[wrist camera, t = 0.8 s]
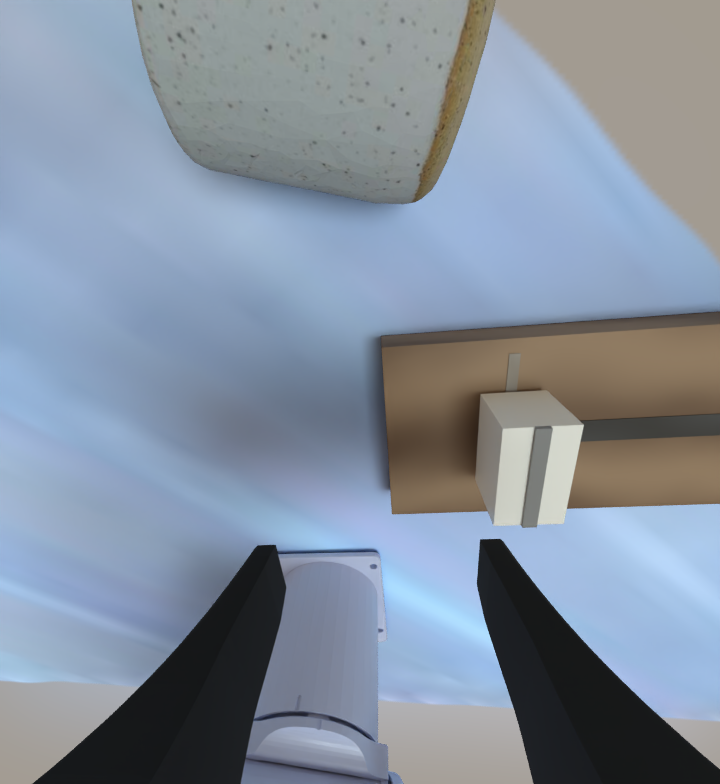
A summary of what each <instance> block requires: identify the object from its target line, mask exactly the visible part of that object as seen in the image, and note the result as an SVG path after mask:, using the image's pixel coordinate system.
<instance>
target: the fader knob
mask: <svg viewBox="0 0 720 784" xmlns="http://www.w3.org/2000/svg"><path fill="white" fill-rule="evenodd" d="M583 427H584V424H583V423H581V422H580V421H579V420H578V419H577V418H576V417H575V416H574V415H573V414H572V413H571V412H570V411H569V410H567V409H566V408H565V407H564V406H563V405H562V404H561V403H560V402H559V401H558V400H557V399H556V398H555V397H553V396H552V395H551V394H550V393H549V392H548V391H547V390H541V391H524V392H506V393H489V394H480V410H479V426H478V442H477V459H476V475H475V480H476V483H477V485H478V488H479V490H480V493H481V495H482V498H483V500H484V503H485V506H486V508H487V511H488V513H489V516H490V518H491V521H492V523H493V526H504V525H522V527H523V528H526V527H537V525H538V524H564V519H565V514H566V510H567V505H568V500H569V495H570V490H571V485H572V480H573V475H574V471H575V466H576V461H577V456H578V451H579V446H580V441H581V436H582V432H583Z"/></svg>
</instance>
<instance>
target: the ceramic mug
mask: <svg viewBox="0 0 720 784" xmlns="http://www.w3.org/2000/svg"><path fill="white" fill-rule="evenodd" d="M494 5H495V0H132V6H133V12H134V17H135V22H136V27H137V32H138V37H139V42H140V47H141V52H142V56H143V59H144V63H145V66H146V69H147V72H148V76H149V79H150V82H151V85H152V88H153V91H154V93H155V95H156V98H157V100H158V103H159V105H160V107H161V110H162V112H163V114H164V116H165V119H166V121H167V123H168V125H169V127H170V130H171V132H172V134H173V136H174V137H175V139H176V140H177V142H178V143H179V145H180V146H181V148H182V149H183V151H184V152H185V153H186V154H187V155H188V156H189V157H190V158H191V159H192V160H193V161H194V162H195V163H197V164H199V165H201V166H203V167H205V168H207V169H209V170H213V171H218V172H223V173H229V174H234V175H239V176H244V177H249V178H254V179H258V180H263V181H268V182H273V183H278V184H283V185H289V186H294V187H299V188H304V189H310V190H315V191H320V192H325V193H330V194H335V195H340V196H344V197H349V198H354V199H358V200H363V201H368V202H372V203H388V204H407V203H413V202H416V201H418V200H420V199H422V198H423V197H424V196H425V195H426V194H428V193H429V192H430V191H431V190H432V188H433V187H434V185H435V184H436V182H437V181H438V179H439V176H440V174H441V172H442V170H443V168H444V166H445V164H446V162H447V159H448V157H449V154H450V152H451V149H452V147H453V144H454V141H455V138H456V136H457V133H458V130H459V128H460V125H461V122H462V119H463V116H464V113H465V110H466V107H467V104H468V101H469V98H470V95H471V91H472V88H473V84H474V81H475V77H476V74H477V71H478V67H479V64H480V60H481V57H482V54H483V51H484V47H485V44H486V40H487V36H488V31H489V27H490V23H491V18H492V14H493V9H494Z"/></svg>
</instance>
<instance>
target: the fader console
mask: <svg viewBox="0 0 720 784" xmlns="http://www.w3.org/2000/svg"><path fill="white" fill-rule="evenodd" d="M381 348H382V364H383V379H384V395H385V411H386V427H387V443H388V459H389V475H390V490H391V506H392V514H416V513H446V512H477V511H487V508H486V506H485V503H484V500H483V498H482V495H481V493H480V490H479V488H478V485H477V483H476V480H475V475H476V459H477V442H478V426H479V410H480V394H489V393H506V392H524V391H541V390H547V391H548V392H549V393H550V394H551V395H552V396H553V397H555V398H556V399H557V400H558V401H559V402H560V403H561V404H562V405H563V406H564V407H565V408H566V409H567V410H569V411H570V412H571V413H572V414H573V415H574V416H575V417H576V418H577V419H578V420H579V421H580V422H581V423H583V424H584V427H583V432H582V436H581V441H580V446H579V451H578V456H577V461H576V466H575V471H574V475H573V480H572V485H571V490H570V495H569V500H568V505H567V509H569V508H600V507H631V506H662V505H692V504H720V312H707V313H693V314H679V315H666V316H652V317H638V318H624V319H610V320H596V321H582V322H568V323H554V324H540V325H526V326H512V327H499V328H485V329H471V330H457V331H443V332H429V333H415V334H401V335H387V336H381Z"/></svg>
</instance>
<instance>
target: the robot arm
mask: <svg viewBox="0 0 720 784" xmlns="http://www.w3.org/2000/svg"><path fill="white" fill-rule="evenodd" d="M477 587H478V591H479V596H480V601H481V605H482V609H483V614H484V618H485V622H486V625H487V628H488V631H489V634H490V637H491V640H492V643H493V646H494V650H495V653H496V656H497V659H498V662H499V665H500V668H501V671H502V674H503V677H504V680H505V683H506V686H507V689H508V692H509V695H510V698H511V701H512V704H513V707H514V710H515V714H516V717H517V721H518V724H519V727H520V731H521V735H522V739H523V743H524V747H525V751H526V755H527V759H528V763H529V767H530V770H531V775H532V779H533V783H534V784H720V769H719V768H718V767H716V766H715V765H714V764H713V763H712V762H711V761H709V760H708V759H707V758H706V757H704V756H703V755H702V754H701V753H700V752H699V751H698V750H696V749H695V748H694V747H693V746H692V745H691V744H690V743H689V742H688V741H686V740H685V739H684V738H683V737H682V736H681V735H680V734H679V733H678V732H676V731H675V730H674V729H673V728H672V727H671V726H670V725H669V724H668V723H666V722H665V721H664V720H663V719H662V718H661V717H660V716H659V715H658V714H656V713H655V712H654V711H653V710H652V709H651V708H650V707H649V706H648V705H647V704H645V703H644V702H643V701H642V700H641V699H640V698H639V697H638V696H637V695H636V694H635V693H634V692H633V691H632V690H631V689H630V688H629V687H628V686H627V685H626V684H625V683H624V682H623V681H622V680H621V679H620V678H619V677H618V676H617V675H616V674H615V673H614V672H613V671H612V670H611V669H610V668H609V667H608V666H607V665H606V664H605V663H604V662H603V661H602V660H601V659H600V658H599V657H598V656H597V655H596V654H595V653H594V652H593V651H592V650H591V649H590V648H589V647H588V645H587V644H586V643H585V642H584V641H583V640H582V639H581V638H580V637H579V636H578V634H577V633H576V632H575V631H574V630H573V629H572V628H571V627H570V626H569V624H568V623H567V622H566V621H565V620H564V619H563V618H562V616H561V615H560V614H559V613H558V612H557V611H556V609H555V608H554V607H553V606H552V605H551V603H550V602H549V601H548V600H547V599H546V597H545V596H544V595H543V594H542V592H541V591H540V590H539V589H538V588H537V586H536V585H535V584H534V582H533V581H532V580H531V579H530V577H529V576H528V575H527V573H526V572H525V571H524V569H523V568H522V567H521V566H520V564H519V563H518V561H517V560H516V559H515V557H514V556H513V555H512V553H511V552H510V550H509V549H508V548H507V546H506V545H505V543H504V542H503V541H502V540H501V539H480V550H479V563H478V576H477ZM386 640H387V628H386V617H385V605H384V594H383V582H382V571H381V559H380V555H379V554H378V553H376V552H349V553H308V554H278V552H277V548H276V545H258V546H257V547H256V548H255V549H254V550H253V552H252V553H251V555H250V556H249V557H248V559H247V560H246V562H245V563H244V564H243V566H242V567H241V568H240V570H239V571H238V573H237V574H236V575H235V577H234V578H233V579H232V581H231V582H230V583H229V585H228V586H227V587H226V589H225V590H224V591H223V593H222V594H221V595H220V596H219V598H218V599H217V600H216V602H215V603H214V604H213V605H212V607H211V608H210V609H209V611H208V612H207V613H206V614H205V615H204V617H203V618H202V619H201V620H200V621H199V623H198V624H197V625H196V626H195V627H194V629H193V630H192V631H191V632H190V633H189V635H188V636H187V637H186V638H185V639H184V640H183V642H182V643H181V644H180V645H179V646H178V647H177V648H176V649H175V651H174V652H173V653H172V654H171V655H170V656H169V657H168V658H167V659H166V661H165V662H164V663H163V664H162V665H161V666H160V667H159V668H158V669H157V670H156V671H155V672H154V673H153V674H152V675H151V676H150V677H149V678H148V679H147V680H146V681H145V682H144V683H143V684H142V685H141V686H140V687H139V688H138V689H137V690H136V691H135V693H134V694H132V695H131V696H130V698H128V700H127V701H125V702H124V703H123V704H122V705H121V706H120V707H119V708H118V709H117V710H116V711H115V712H114V713H113V714H112V715H111V716H110V717H109V718H108V719H106V720H105V721H104V722H103V723H102V724H101V725H100V726H99V727H98V728H97V729H95V730H94V731H93V732H92V733H91V734H90V735H89V736H87V737H86V738H85V739H84V740H83V741H82V742H81V743H80V744H79V745H77V746H76V747H75V748H74V749H73V750H72V751H71V752H70V753H69V754H67V755H66V756H65V757H64V758H63V759H62V760H60V761H59V762H58V763H57V764H56V765H55V766H54V767H52V768H51V769H50V770H49V771H47V772H46V773H45V774H44V775H43V776H41V777H40V778H39V779H38V780H36V781H35V782H34V783H33V784H404V783H403V782H402V780H401V778H400V776H399V775H398V774H397V773H395V772H390V771H388V746H387V745H385V744H381V743H378V642H384V641H386Z"/></svg>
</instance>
